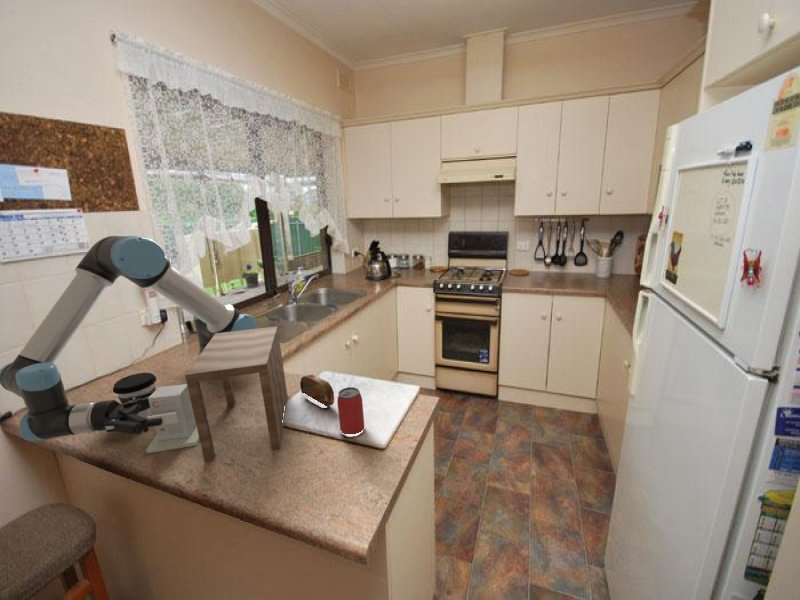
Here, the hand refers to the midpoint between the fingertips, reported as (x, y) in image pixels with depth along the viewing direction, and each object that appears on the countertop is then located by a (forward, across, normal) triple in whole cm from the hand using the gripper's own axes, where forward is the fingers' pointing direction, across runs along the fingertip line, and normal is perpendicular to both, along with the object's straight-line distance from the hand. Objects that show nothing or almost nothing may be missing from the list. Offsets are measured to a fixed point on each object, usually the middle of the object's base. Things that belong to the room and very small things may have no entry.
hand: (185, 403), depth 101 cm
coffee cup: (-18, -15, -10) cm, 26 cm away
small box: (-3, 0, -9) cm, 9 cm away
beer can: (+44, +12, -10) cm, 46 cm away
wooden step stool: (+16, 0, -10) cm, 18 cm away
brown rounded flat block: (+35, -6, -10) cm, 37 cm away
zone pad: (-3, 0, -10) cm, 10 cm away
